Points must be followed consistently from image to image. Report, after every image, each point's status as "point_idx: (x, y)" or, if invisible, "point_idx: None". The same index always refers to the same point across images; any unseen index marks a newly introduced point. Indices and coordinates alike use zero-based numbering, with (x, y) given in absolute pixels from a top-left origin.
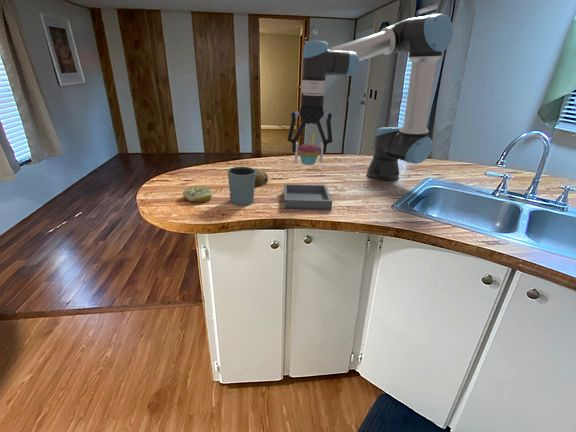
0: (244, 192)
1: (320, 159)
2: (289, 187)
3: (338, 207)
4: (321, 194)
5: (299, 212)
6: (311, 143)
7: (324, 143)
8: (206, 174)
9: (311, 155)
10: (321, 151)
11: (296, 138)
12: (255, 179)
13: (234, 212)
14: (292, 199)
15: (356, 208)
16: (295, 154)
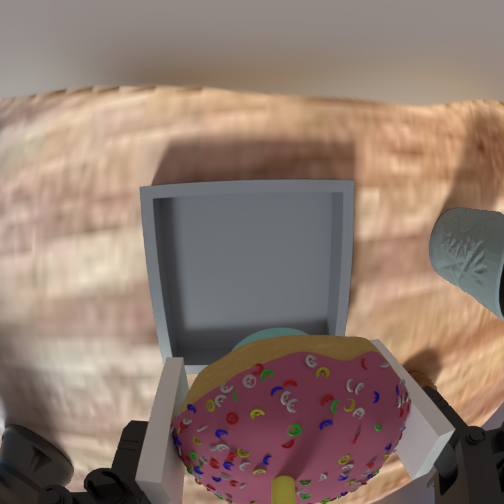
0: (478, 214)
1: (178, 374)
2: None
3: (122, 216)
4: (184, 326)
5: (281, 150)
6: (293, 492)
7: (125, 493)
8: (481, 398)
9: (279, 339)
10: (165, 425)
11: (478, 467)
12: (417, 383)
13: (465, 158)
14: (321, 188)
15: (63, 216)
16: (404, 375)
